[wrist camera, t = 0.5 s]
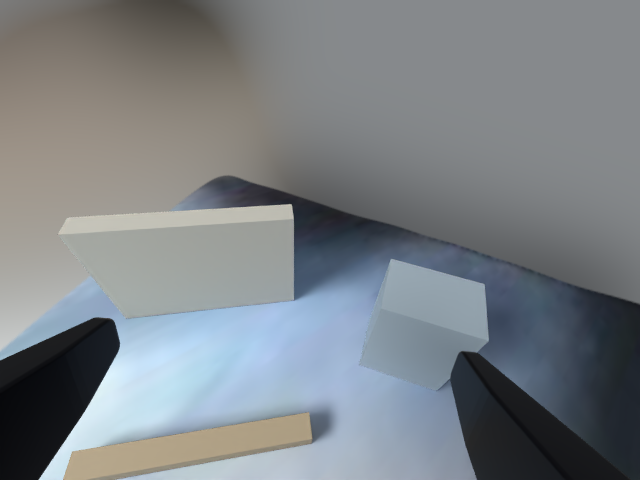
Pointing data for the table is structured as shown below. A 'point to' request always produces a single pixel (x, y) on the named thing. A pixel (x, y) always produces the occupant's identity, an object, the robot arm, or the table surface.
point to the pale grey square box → (423, 324)
